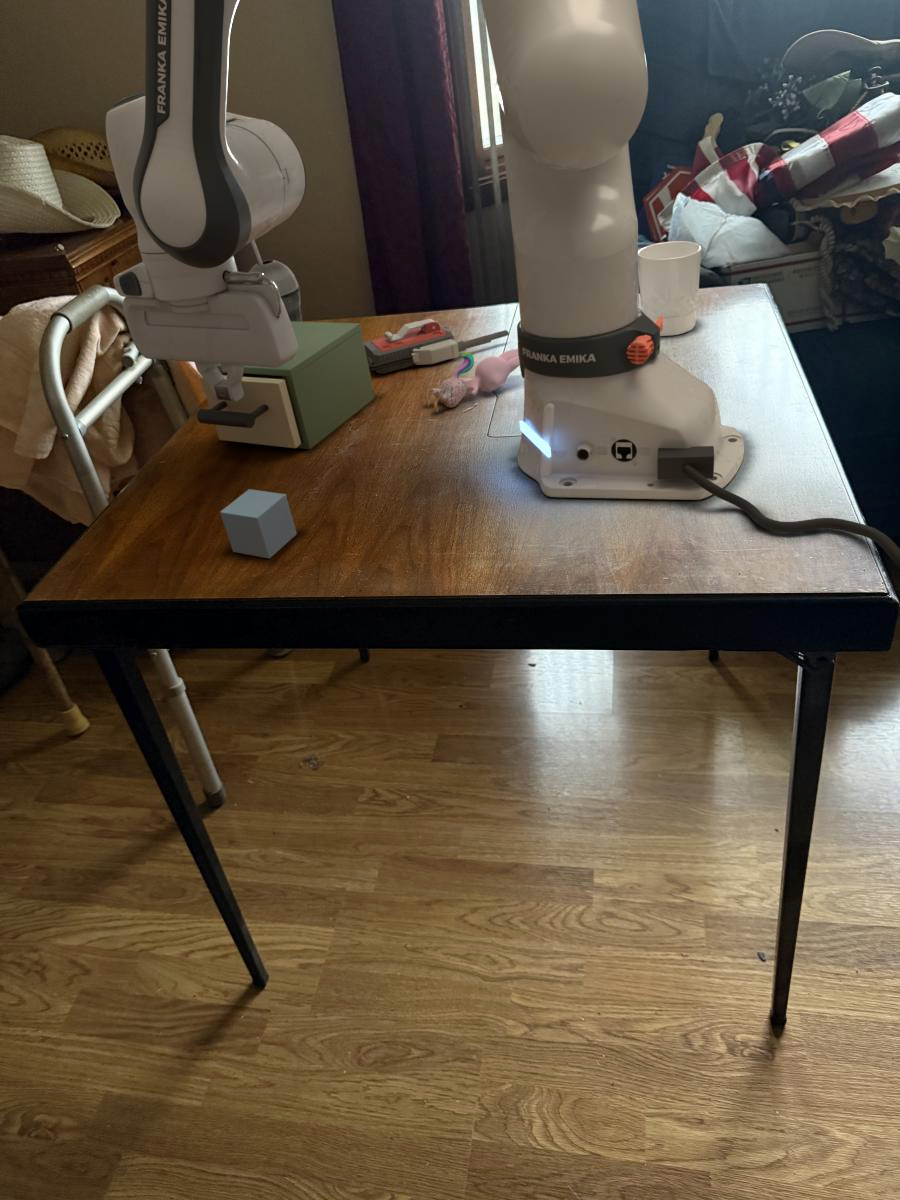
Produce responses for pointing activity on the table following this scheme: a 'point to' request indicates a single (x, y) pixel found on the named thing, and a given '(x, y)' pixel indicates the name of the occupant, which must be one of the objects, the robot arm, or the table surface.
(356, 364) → the cabinet
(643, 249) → the white cup
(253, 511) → the block
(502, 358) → the pink unicorn toy
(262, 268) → the beverage cup
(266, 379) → the drawer
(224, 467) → the table surface
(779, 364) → the table surface
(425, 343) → the toy chainsaw
